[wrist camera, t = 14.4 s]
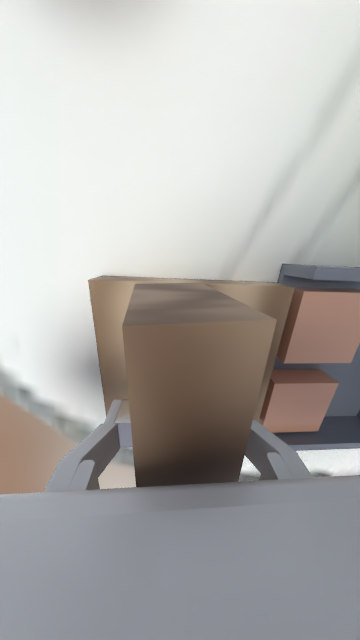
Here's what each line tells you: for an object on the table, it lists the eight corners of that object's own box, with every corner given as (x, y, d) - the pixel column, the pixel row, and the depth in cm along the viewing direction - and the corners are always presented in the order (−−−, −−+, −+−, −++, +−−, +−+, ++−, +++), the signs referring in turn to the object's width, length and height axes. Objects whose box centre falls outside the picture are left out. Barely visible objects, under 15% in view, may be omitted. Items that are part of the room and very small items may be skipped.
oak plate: (274, 282, 15) (294, 287, 12) (245, 409, 19) (255, 430, 17) (102, 275, 13) (88, 279, 11) (116, 412, 18) (108, 434, 16)
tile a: (354, 288, 15) (381, 293, 13) (330, 350, 17) (351, 362, 15) (286, 286, 14) (304, 291, 12) (270, 350, 16) (283, 363, 14)
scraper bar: (203, 284, 12) (276, 319, 5) (191, 432, 17) (222, 545, 10) (135, 283, 11) (122, 325, 4) (143, 440, 16) (143, 569, 9)
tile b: (320, 369, 17) (339, 383, 16) (303, 414, 19) (317, 431, 18) (263, 369, 17) (274, 383, 15) (251, 415, 19) (260, 432, 17)
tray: (432, 271, 15) (506, 275, 12) (355, 417, 21) (390, 447, 18) (282, 263, 14) (317, 266, 11) (245, 419, 20) (260, 451, 17)
